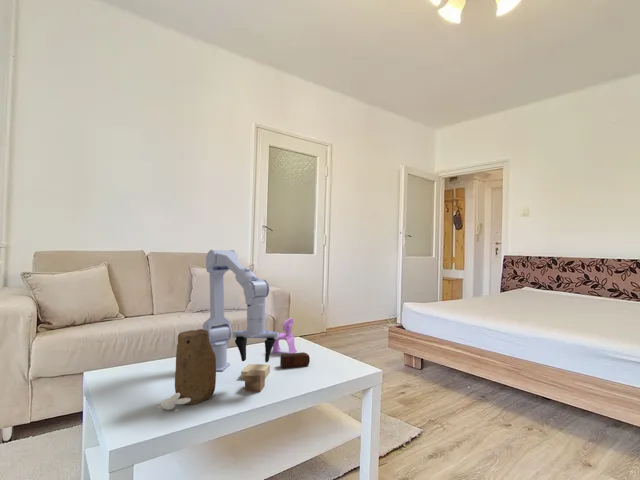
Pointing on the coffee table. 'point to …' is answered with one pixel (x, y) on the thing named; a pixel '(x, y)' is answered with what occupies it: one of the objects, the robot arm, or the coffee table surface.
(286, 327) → the toy chair
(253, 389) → the walnut cube
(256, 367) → the oak base
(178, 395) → the rabbit figurine
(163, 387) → the coffee table surface
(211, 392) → the brown rounded upright slab
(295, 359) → the brick
